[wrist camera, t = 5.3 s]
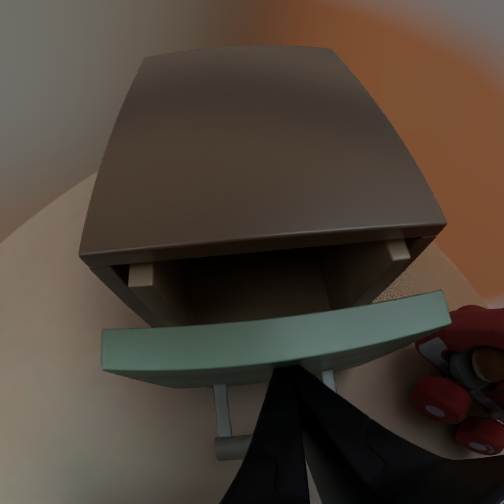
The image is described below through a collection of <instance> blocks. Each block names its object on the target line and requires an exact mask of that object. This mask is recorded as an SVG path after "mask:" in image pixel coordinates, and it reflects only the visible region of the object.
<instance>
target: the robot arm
mask: <svg viewBox="0 0 504 504" xmlns="http://www.w3.org/2000/svg"><path fill="white" fill-rule="evenodd" d="M305 458H306V461H307V463H308V466H309V469H310V472H311V474H312V477H313V480H314V483H315V485H316V488H317V491H318V493H319V496H320V499H321V501H322V504H504V455H498V456H492V457H484V458H475V459H464V460H452V459H447V458H443V457H440V456H438V455H435V454H433V453H431V452H429V451H427V450H425V449H423V448H421V447H419V446H417V445H415V444H413V443H411V442H409V441H407V440H405V439H403V438H401V437H399V436H397V435H396V434H394V433H392V432H391V431H389V430H388V429H386V428H384V427H383V426H381V425H380V424H378V423H377V422H376V421H374V420H373V419H370V417H368V416H367V415H366V414H364V413H363V412H362V411H360V410H359V409H357V408H356V407H355V406H353V405H352V404H351V403H349V402H348V401H347V400H345V399H344V398H343V397H341V396H340V395H339V394H337V393H336V392H335V391H333V390H332V389H331V388H329V387H328V386H327V385H325V384H324V383H323V382H321V381H320V380H319V379H318V378H316V377H315V376H314V375H312V374H311V373H310V372H309V371H307V370H306V369H305V368H304V367H302V366H301V365H296V366H289V367H288V368H286V367H282V368H275V369H274V370H273V373H272V376H271V380H270V383H269V386H268V389H267V392H266V396H265V399H264V402H263V405H262V408H261V411H260V414H259V418H258V421H257V424H256V427H255V430H254V433H253V436H252V439H251V443H250V444H249V447H248V450H247V452H246V455H245V457H244V460H243V462H242V465H241V467H240V469H239V471H238V472H237V474H236V476H235V478H234V480H233V482H232V483H231V485H230V487H229V488H228V490H227V492H226V493H225V495H224V497H223V498H222V500H221V501H220V503H219V504H310V500H309V498H310V497H309V488H308V479H307V470H306V462H305Z"/></svg>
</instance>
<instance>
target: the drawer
mask: <svg viewBox="0 0 504 504" xmlns="http://www.w3.org/2000/svg"><path fill="white" fill-rule="evenodd" d="M410 258H411V257H410V254H409V251H408V248H407V246H406V243H405V240H404V238H402V239H391V240H380V241H370V242H359V243H348V244H337V245H327V246H316V247H305V248H294V249H283V250H273V251H262V252H251V253H240V254H229V255H219V256H208V257H197V258H186V259H175V260H164V261H154V262H143V263H132V264H130V268H129V282H128V287H129V288H130V290H131V291H132V292H133V293H134V294H135V295H136V296H137V297H138V298H139V299H140V300H141V301H142V302H143V304H144V305H145V306H146V307H147V308H148V309H149V310H150V311H151V312H152V313H153V314H154V315H155V316H156V317H157V318H158V319H159V320H160V321H161V322H162V323H163V324H164V325H165V326H166V327H156V328H130V329H103V330H102V355H101V368H102V370H103V371H107V372H110V373H113V374H117V375H121V376H124V377H128V378H132V379H136V380H140V381H144V382H148V383H152V384H157V385H161V386H166V387H171V388H203V387H213V390H214V400H215V409H216V419H217V427H218V436H219V437H216V438H215V441H214V445H215V454H216V458H217V460H218V461H224V460H239V459H244V457H245V455H246V452H247V450H248V447H249V444H250V443H251V439H252V436H253V434H252V435H241V436H232V427H231V418H230V409H229V400H228V391H227V386H232V385H243V384H253V383H262V382H270V380H271V376H272V373H273V370H274V369H275V368H282V367H286V368H288V367H289V366H296V365H301V366H302V367H304V368H305V369H306V370H307V371H309V372H310V373H311V374H312V375H316V374H319V379H320V381H321V382H323V383H324V384H325V385H327V386H328V387H329V388H331V389H332V390H333V391H335V392H336V393H337V391H336V385H335V379H334V373H333V371H337V370H342V369H347V368H352V367H356V366H360V365H363V364H365V363H368V362H370V361H373V360H375V359H378V358H380V357H383V356H385V355H387V354H390V353H392V352H394V351H397V350H399V349H401V348H403V347H406V346H408V345H410V344H412V343H414V342H416V341H419V340H421V339H423V338H425V337H427V336H429V335H431V334H433V333H435V332H437V331H439V330H441V329H443V328H445V327H447V326H448V325H450V324H451V323H452V322H451V318H450V315H449V311H448V307H447V304H446V301H445V297H444V294H443V291H442V290H438V291H433V292H428V293H424V294H419V295H414V296H409V297H404V298H399V299H394V300H389V301H383V302H378V303H372V304H367V305H365V304H366V303H367V302H368V301H369V300H370V299H371V298H372V297H373V296H374V295H375V294H376V293H377V292H379V291H380V290H381V289H382V288H383V287H384V286H385V285H386V284H387V283H388V282H389V281H390V280H391V279H392V278H393V277H394V276H395V274H396V273H397V272H398V271H399V270H400V269H401V268H402V267H403V266H404V265H405V264H406V263H407V262H408V261H409V260H410Z"/></svg>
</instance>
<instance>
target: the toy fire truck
mask: <svg viewBox="0 0 504 504" xmlns="http://www.w3.org/2000/svg"><path fill="white" fill-rule="evenodd" d="M449 315H450V318H451V322H452V323H451V324H450V325H448V326H447V327H445V328H443V329H441V330H439V331H437V332H435V333H433V334H431V335H429V336H427V337H425V338H423V339H421V340H419V341H416V343H415V347H416V349H417V351H418V352H419V353H420V354H421V355H422V356H423V357H424V358H426V359H427V360H428V361H429V362H430V363H432V364H433V365H434V366H436V367H437V368H438V369H439V371H440V373H441V375H442V377H441V376H435V375H427V376H424V377H423V378H421V379H420V381H419V382H418V384H417V386H416V387H415V389H414V391H413V392H412V395H411V401H412V403H413V405H414V406H415V407H416V408H417V409H418V410H419V411H421V412H422V413H423V414H425V415H427V416H429V417H430V418H432V419H434V420H437V421H440V422H443V423H447V424H457V423H460V422H461V421H462V420H463V419H464V418H465V416H466V414H467V412H468V410H469V408H470V407H471V404H472V397H473V398H474V399H475V400H477V401H478V402H479V403H481V404H482V406H483V410H484V411H485V412H486V413H487V415H486V418H485V417H477V416H470V417H467V418H466V419H465V420H463V422H462V424H461V426H460V428H459V429H458V431H457V433H456V440H457V442H458V443H459V444H460V445H462V446H463V447H465V448H466V449H468V450H471V451H473V452H476V453H479V454H483V455H496V454H499V453H500V452H501V451H502V450H503V448H504V425H503V424H501V423H500V422H498V421H497V419H499V420H500V421H502V422H503V423H504V308H501V309H485V308H483V307H480V306H477V305H467V306H463V307H461V308H459V309H457V310H456V311H451V312H449Z"/></svg>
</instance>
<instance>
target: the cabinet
mask: <svg viewBox="0 0 504 504" xmlns="http://www.w3.org/2000/svg"><path fill="white" fill-rule="evenodd" d="M446 225H447V221H446V219H445V217H444V215H443V213H442V210H441V208H440V206H439V204H438V202H437V200H436V198H435V196H434V194H433V192H432V190H431V189H430V187H429V185H428V183H427V181H426V179H425V178H424V176H423V174H422V172H421V171H420V169H419V167H418V165H417V164H416V162H415V160H414V158H413V157H412V155H411V154H410V152H409V150H408V149H407V147H406V145H405V144H404V143H403V141H402V139H401V138H400V136H399V135H398V133H397V132H396V130H395V129H394V127H393V126H392V124H391V123H390V121H389V120H388V118H387V117H386V116H385V114H384V113H383V111H382V110H381V109H380V108H379V106H378V104H377V103H376V102H375V100H374V99H373V98H372V96H371V95H370V94H369V93H368V91H367V90H366V89H365V87H364V86H363V85H362V84H361V83H360V81H359V80H358V79H357V78H356V76H355V75H354V74H353V73H352V72H351V70H350V69H349V68H348V67H347V66H346V65H345V64H344V62H343V61H342V60H341V59H340V58H339V57H338V56H337V54H336V53H335V52H334V51H333V50H332V49H329V48H318V47H304V46H281V45H280V46H279V45H259V46H258V45H256V46H254V45H253V46H230V47H215V48H205V49H195V50H188V51H180V52H173V53H167V54H161V55H156V56H151V57H145V58H144V59H143V61H142V63H141V65H140V67H139V69H138V71H137V73H136V75H135V77H134V80H133V82H132V84H131V86H130V88H129V90H128V93H127V95H126V97H125V100H124V102H123V104H122V107H121V109H120V112H119V114H118V117H117V119H116V122H115V124H114V127H113V130H112V133H111V135H110V138H109V141H108V144H107V147H106V149H105V153H104V156H103V158H102V162H101V165H100V168H99V171H98V174H97V178H96V181H95V185H94V188H93V192H92V196H91V199H90V203H89V207H88V211H87V216H86V220H85V224H84V229H83V234H82V238H81V243H80V249H79V257H80V259H81V260H82V261H83V262H84V263H85V264H86V265H87V266H88V267H89V268H90V270H91V271H92V272H93V273H94V274H95V275H96V276H97V277H98V278H99V279H100V280H101V281H102V282H103V283H104V284H105V285H106V286H107V287H108V288H109V289H110V290H111V291H112V292H114V293H115V294H116V295H117V296H118V297H119V298H120V299H121V300H122V301H123V302H124V303H125V304H126V305H127V306H129V307H130V308H131V309H132V310H133V311H134V312H135V313H136V314H137V315H139V316H140V317H141V318H142V319H143V320H144V321H145V322H147V323H148V324H149V325H150V326H151V327H152V328H156V327H166V326H165V325H164V324H163V323H162V322H161V321H160V320H159V319H158V318H157V317H156V316H155V315H154V314H153V313H152V312H151V311H150V310H149V309H148V308H147V307H146V306H145V305H144V304H143V302H142V301H141V300H140V299H139V298H138V297H137V296H136V295H135V294H134V293H133V292H132V291H131V290H130V288H129V287H128V282H129V268H130V264H132V263H143V262H154V261H164V260H175V259H186V258H197V257H208V256H219V255H229V254H240V253H251V252H262V251H273V250H283V249H294V248H305V247H316V246H327V245H337V244H348V243H359V242H370V241H380V240H391V239H402V238H404V240H405V243H406V246H407V248H408V251H409V254H410V257H411V258H410V260H409V261H408V262H407V263H406V264H405V265H404V266H403V267H402V268H401V269H400V270H399V271H398V272H397V273H396V274H395V276H394V277H393V278H392V279H391V280H390V281H389V282H388V283H387V284H386V285H385V286H384V287H383V288H382V289H381V290H380V291H379V292H377V293H376V294H375V295H374V296H373V297H372V298H371V299H370V300H369V301H368V302H367V303H366V304H365V305H367V304H370V303H371V302H372V301H373V300H375V299H376V298H377V297H378V296H379V295H380V294H381V293H382V292H383V291H384V290H385V289H386V288H387V287H388V286H389V285H390V284H391V283H392V282H393V281H394V280H395V279H396V278H397V277H398V276H399V275H400V274H401V273H402V272H403V271H404V270H405V269H406V268H407V267H408V266H409V265H410V264H411V263H412V262H413V261H414V260H415V259H416V258H417V257H418V256H419V255H420V254H421V253H422V252H423V251H424V250H425V249H426V247H427V246H428V245H429V244H430V243H431V242H432V241H433V240H434V239H435V238H436V235H438V234H439V233H440V232H441V231H442V230H443V228H444V227H445V226H446Z"/></svg>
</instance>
